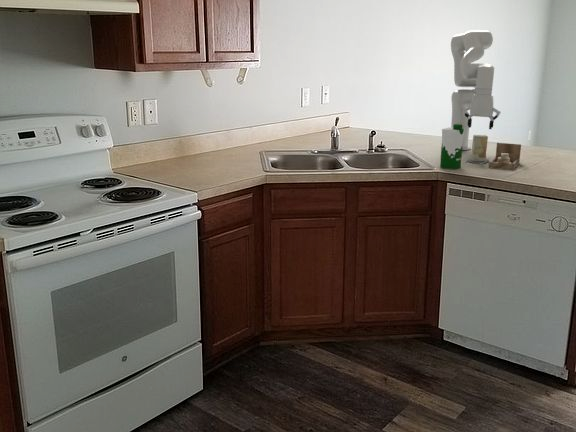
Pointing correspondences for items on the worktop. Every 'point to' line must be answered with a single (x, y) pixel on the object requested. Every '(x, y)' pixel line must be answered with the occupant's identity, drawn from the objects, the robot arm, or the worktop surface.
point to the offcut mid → (503, 160)
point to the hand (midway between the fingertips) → (479, 128)
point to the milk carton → (452, 147)
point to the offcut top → (504, 155)
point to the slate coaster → (477, 161)
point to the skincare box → (479, 147)
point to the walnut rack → (513, 155)
